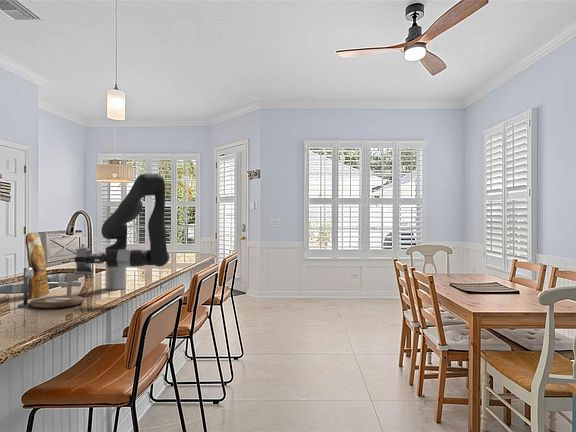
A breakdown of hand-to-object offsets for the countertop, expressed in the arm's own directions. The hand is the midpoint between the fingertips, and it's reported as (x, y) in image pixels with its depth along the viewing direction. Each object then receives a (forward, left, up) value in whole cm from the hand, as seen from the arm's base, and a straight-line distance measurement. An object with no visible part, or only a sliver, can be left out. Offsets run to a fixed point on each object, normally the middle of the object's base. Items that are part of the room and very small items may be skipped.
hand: (77, 258), depth 186 cm
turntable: (+6, -6, -18) cm, 20 cm away
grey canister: (0, +3, -6) cm, 7 cm away
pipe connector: (-15, -8, -18) cm, 25 cm away
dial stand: (+8, -17, -18) cm, 26 cm away
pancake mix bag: (-17, -22, -18) cm, 33 cm away
